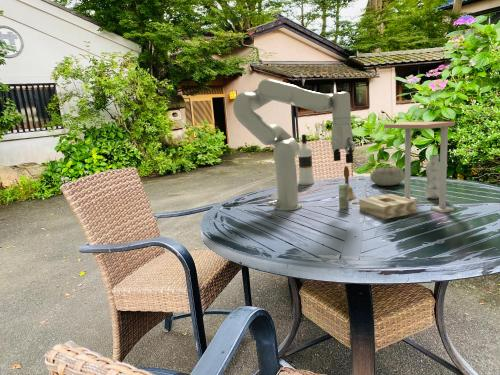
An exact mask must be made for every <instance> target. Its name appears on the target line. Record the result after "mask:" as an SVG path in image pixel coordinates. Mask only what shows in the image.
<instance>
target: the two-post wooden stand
mask: <svg viewBox="0 0 500 375" xmlns="http://www.w3.org/2000/svg"><path fill="white" fill-rule="evenodd" d="M455 125H456V121H405V122H403V121H402V122H396V123H387V124H386V123H385V124H383V128H384V129H404V174H405V178H404V196H403V197H404V198H407V199H411V200H415V201H418V197H413V196H411V178H412V177H411V176H412V175H411V164H412V163H411V162H412V161H411V159H412V158H411V157H412V156H411V155H412V154H411V153H412V151H411V150H412V145H411V144H412V140H411V139H412V129H415V130H416V129H417V130H418V129H420V130H423V129H424V130H428V129H437V128H440V150H439V151H440V154H439V162H440V185H439V198H438V205H435V206H430V210H431V211H435V212H439V213H449V212H453V211H455V207H452V206H448V205H446V203H447V201H446V200H447V170H448V166H447V165H448V140H449V139H448V135H449V134H448V132H449V130H448V129H449V127H453V126H454V127H455Z"/></svg>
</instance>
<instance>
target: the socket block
mask: <svg viewBox="0 0 500 375" xmlns="http://www.w3.org/2000/svg"><path fill="white" fill-rule="evenodd" d="M404 197H405V196H400V195H398V194H393V193H388V194H386V193H385V194H382V195H381V194H380V195H376V196H369V197H364V198H359V202H358V203H359V211H360V212H363V211H364V212H363V213H366V214H369V215H372V216H374V217H377V218H379V219H381V220H387V219H391V218H392V219H393V218H397V217H402V216H403V217H404V216H408V215H409V216H410V215H414V214H417V213H418V210H417V209H418V205H417V204H418V202H417V201H415V200H411V199H407V198H404Z"/></svg>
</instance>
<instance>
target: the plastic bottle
mask: <svg viewBox="0 0 500 375" xmlns="http://www.w3.org/2000/svg"><path fill="white" fill-rule="evenodd" d="M428 159H429V161H428V162H427V164H426V165H425V171H426V189H425V192H424V193H425V196H426V197H427V199H431V200H434V199H439V185H440V154H430V155H429V158H428Z"/></svg>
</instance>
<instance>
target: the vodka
mask: <svg viewBox="0 0 500 375" xmlns="http://www.w3.org/2000/svg"><path fill="white" fill-rule="evenodd" d="M307 142H308V141H307V134H302V135H301V146H299V147H300V150H299V153H298V155H297V156H298V173H299V174H298V175H299V177H298V184H299V185H300V186H311V185H313V184H315V179H314V172H313V171H314V170H313V157H312V156H313V150H312V148H311V147H310V146H308V144H307Z"/></svg>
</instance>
